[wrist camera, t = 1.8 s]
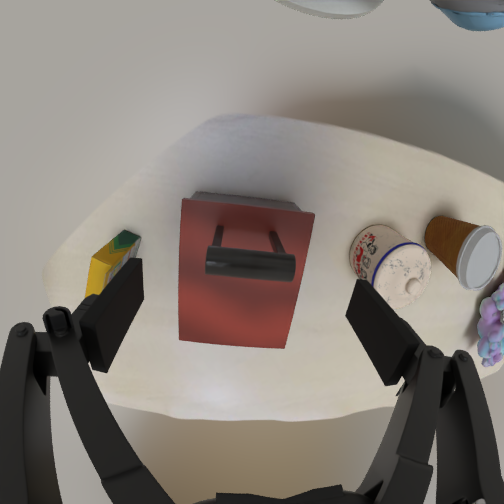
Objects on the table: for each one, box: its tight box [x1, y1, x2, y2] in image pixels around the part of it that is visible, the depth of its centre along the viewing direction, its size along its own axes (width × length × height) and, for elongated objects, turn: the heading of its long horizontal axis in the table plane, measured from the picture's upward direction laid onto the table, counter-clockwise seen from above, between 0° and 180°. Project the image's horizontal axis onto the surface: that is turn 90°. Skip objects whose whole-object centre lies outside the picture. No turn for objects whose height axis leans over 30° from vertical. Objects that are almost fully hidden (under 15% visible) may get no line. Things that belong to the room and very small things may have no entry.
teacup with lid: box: [350, 225, 431, 309], centre depth 33 cm, size 12×9×12 cm
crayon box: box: [85, 230, 141, 298], centre depth 31 cm, size 7×3×12 cm, turn 154°
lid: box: [178, 198, 315, 349], centre depth 24 cm, size 16×13×9 cm
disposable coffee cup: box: [425, 216, 502, 291], centre depth 32 cm, size 10×10×12 cm
